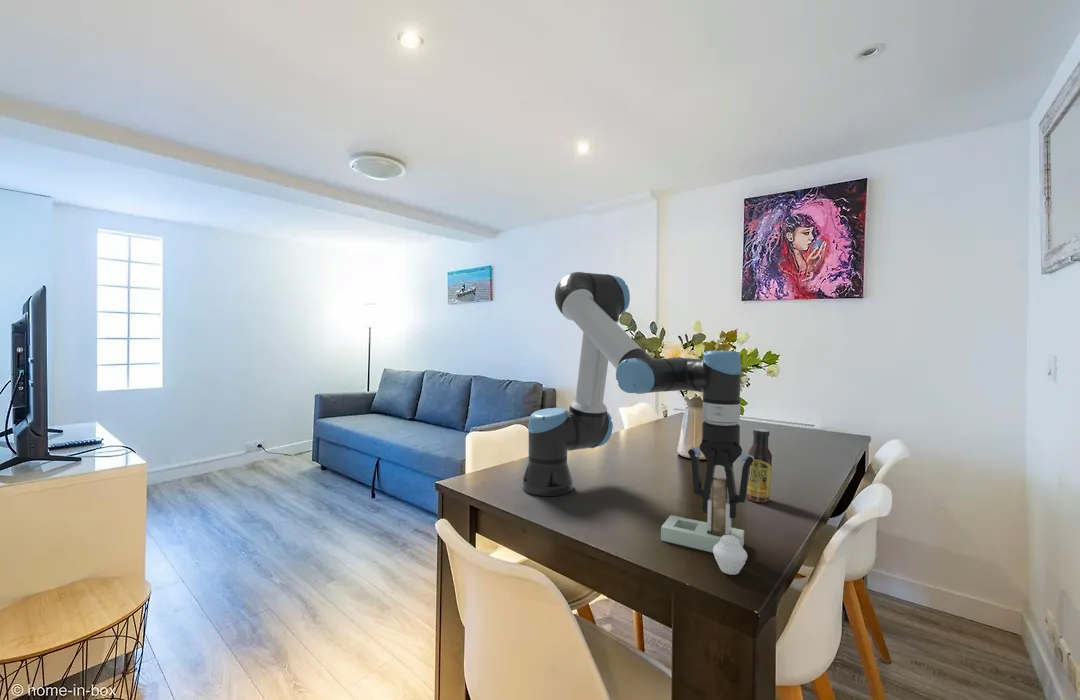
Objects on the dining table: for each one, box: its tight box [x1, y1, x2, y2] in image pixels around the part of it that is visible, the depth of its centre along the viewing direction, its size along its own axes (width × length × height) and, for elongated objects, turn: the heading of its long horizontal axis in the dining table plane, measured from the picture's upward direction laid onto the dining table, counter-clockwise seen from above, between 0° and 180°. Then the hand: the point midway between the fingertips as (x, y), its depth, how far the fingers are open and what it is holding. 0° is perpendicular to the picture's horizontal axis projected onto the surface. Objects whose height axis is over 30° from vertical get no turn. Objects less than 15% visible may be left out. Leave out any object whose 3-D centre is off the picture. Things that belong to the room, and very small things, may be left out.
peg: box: [711, 476, 728, 537], centre depth 97 cm, size 3×3×12 cm
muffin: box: [713, 535, 748, 576], centre depth 86 cm, size 6×6×7 cm
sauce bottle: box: [746, 428, 773, 504], centre depth 125 cm, size 7×6×20 cm
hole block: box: [660, 514, 745, 554], centre depth 99 cm, size 16×8×3 cm, turn 59°
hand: (719, 529), depth 97 cm, fingers closed on peg, 3 cm apart
